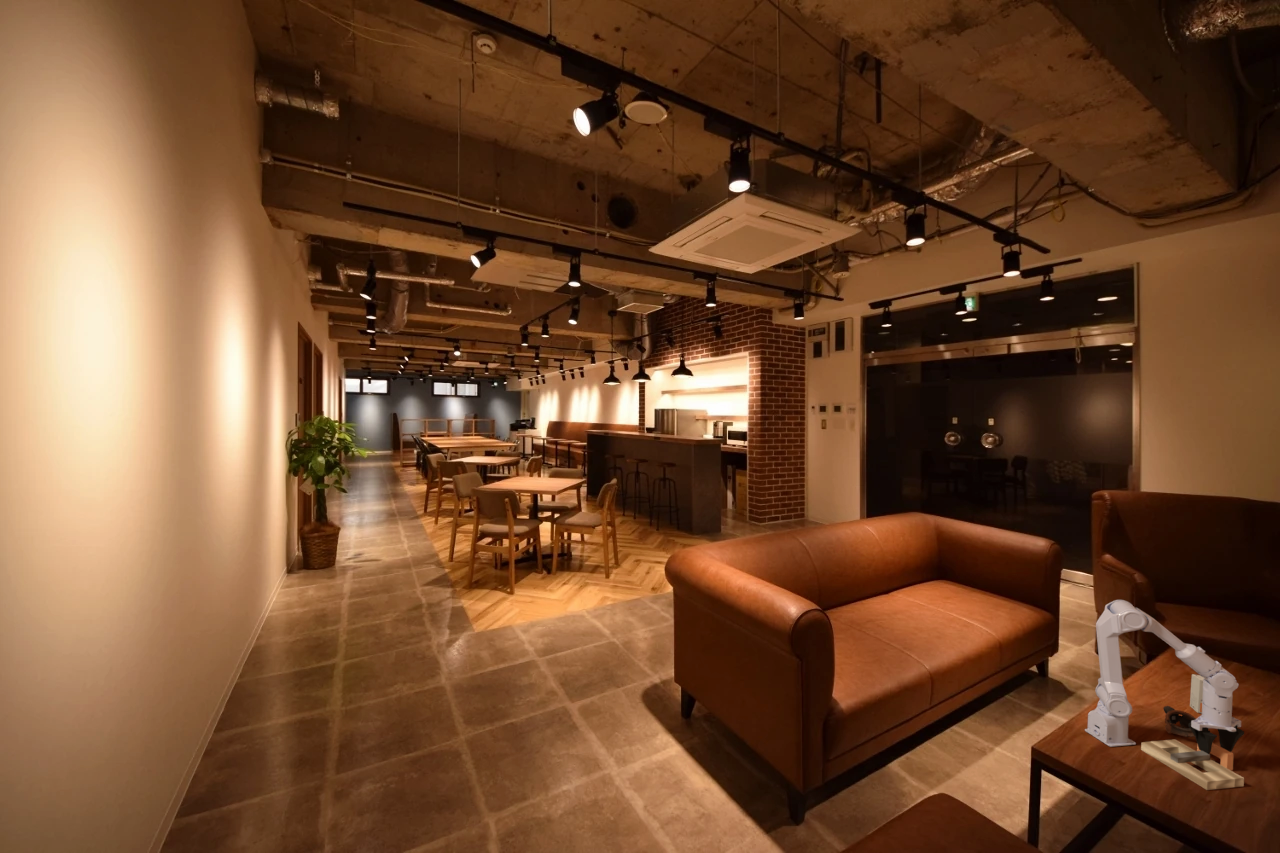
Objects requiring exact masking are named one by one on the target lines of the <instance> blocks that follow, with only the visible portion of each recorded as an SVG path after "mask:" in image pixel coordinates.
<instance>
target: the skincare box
mask: <svg viewBox="0 0 1280 853" xmlns="http://www.w3.org/2000/svg"><path fill="white" fill-rule="evenodd" d="M1203 679H1205V678H1204V677H1202V676H1200V674H1193V673H1192V674H1191V680H1190V695H1189V696H1190V697H1189V698H1190V699H1189V707H1191V709H1192V710H1194V711H1195V712H1196V713H1198V714H1202V697H1203ZM1205 680H1206V679H1205Z"/></svg>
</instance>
